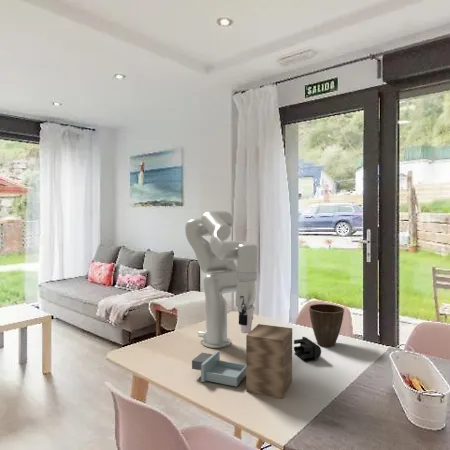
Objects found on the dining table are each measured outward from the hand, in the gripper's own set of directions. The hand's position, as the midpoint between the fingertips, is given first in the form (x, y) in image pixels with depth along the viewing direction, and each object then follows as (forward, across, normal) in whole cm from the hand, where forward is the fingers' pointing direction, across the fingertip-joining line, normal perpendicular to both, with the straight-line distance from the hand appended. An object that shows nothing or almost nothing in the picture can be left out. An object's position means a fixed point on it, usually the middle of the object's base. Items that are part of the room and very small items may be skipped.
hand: (246, 321), depth 145 cm
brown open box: (+16, +15, +14) cm, 26 cm away
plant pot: (+17, -33, +26) cm, 45 cm away
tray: (+16, +15, -4) cm, 22 cm away
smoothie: (+4, 0, 0) cm, 4 cm away
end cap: (+17, -15, +21) cm, 31 cm away
